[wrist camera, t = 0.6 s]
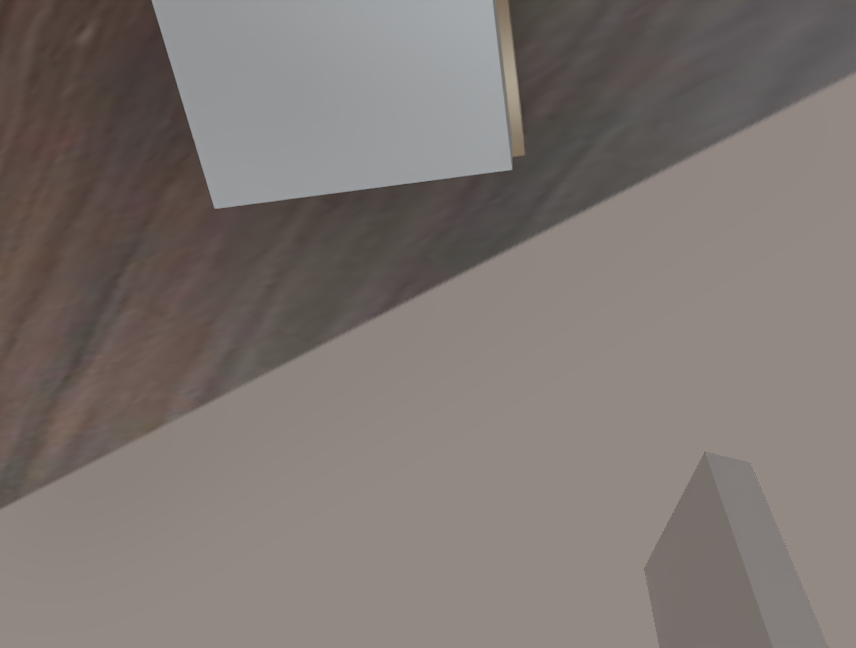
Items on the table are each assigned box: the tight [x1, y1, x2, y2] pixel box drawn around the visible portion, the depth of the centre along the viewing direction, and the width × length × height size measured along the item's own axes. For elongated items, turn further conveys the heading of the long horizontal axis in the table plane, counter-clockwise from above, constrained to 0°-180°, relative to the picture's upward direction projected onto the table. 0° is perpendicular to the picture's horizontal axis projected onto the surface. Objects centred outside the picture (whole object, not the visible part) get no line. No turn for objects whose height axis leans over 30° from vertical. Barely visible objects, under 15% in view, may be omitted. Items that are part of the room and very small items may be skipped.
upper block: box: [152, 0, 512, 209], centre depth 28 cm, size 12×12×4 cm
